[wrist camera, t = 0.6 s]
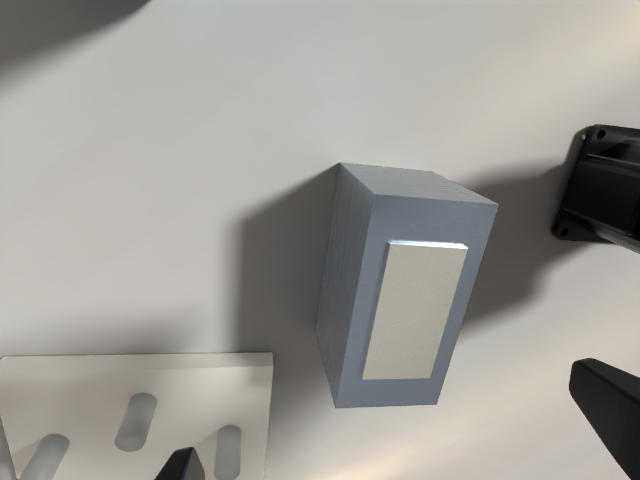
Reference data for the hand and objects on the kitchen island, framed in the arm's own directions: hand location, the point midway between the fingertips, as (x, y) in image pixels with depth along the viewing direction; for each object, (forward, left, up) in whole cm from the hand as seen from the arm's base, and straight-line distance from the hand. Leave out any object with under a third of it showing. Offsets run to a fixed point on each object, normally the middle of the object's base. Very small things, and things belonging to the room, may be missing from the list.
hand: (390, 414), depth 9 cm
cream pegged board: (+9, +17, -12) cm, 23 cm away
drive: (-3, +1, -12) cm, 13 cm away
